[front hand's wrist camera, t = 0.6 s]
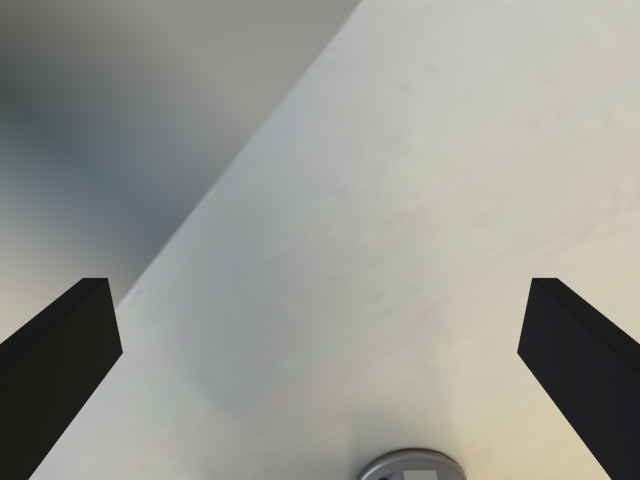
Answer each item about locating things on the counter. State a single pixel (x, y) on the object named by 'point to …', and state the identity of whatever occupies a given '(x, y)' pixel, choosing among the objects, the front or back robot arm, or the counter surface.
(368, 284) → the counter surface
